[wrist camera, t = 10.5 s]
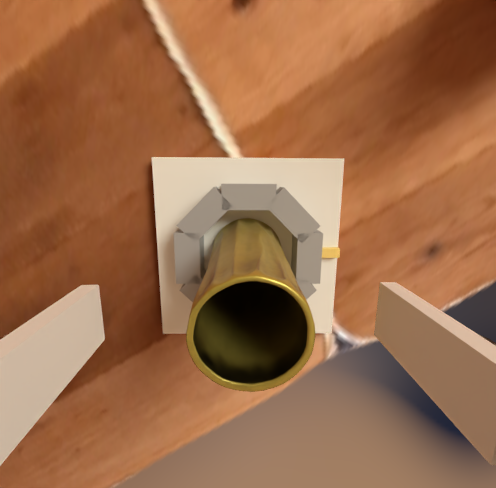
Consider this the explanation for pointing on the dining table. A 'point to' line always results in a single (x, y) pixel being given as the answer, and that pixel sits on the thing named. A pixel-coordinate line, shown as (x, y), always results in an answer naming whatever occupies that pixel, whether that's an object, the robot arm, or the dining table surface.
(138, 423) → the dining table surface
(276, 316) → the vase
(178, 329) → the socket
